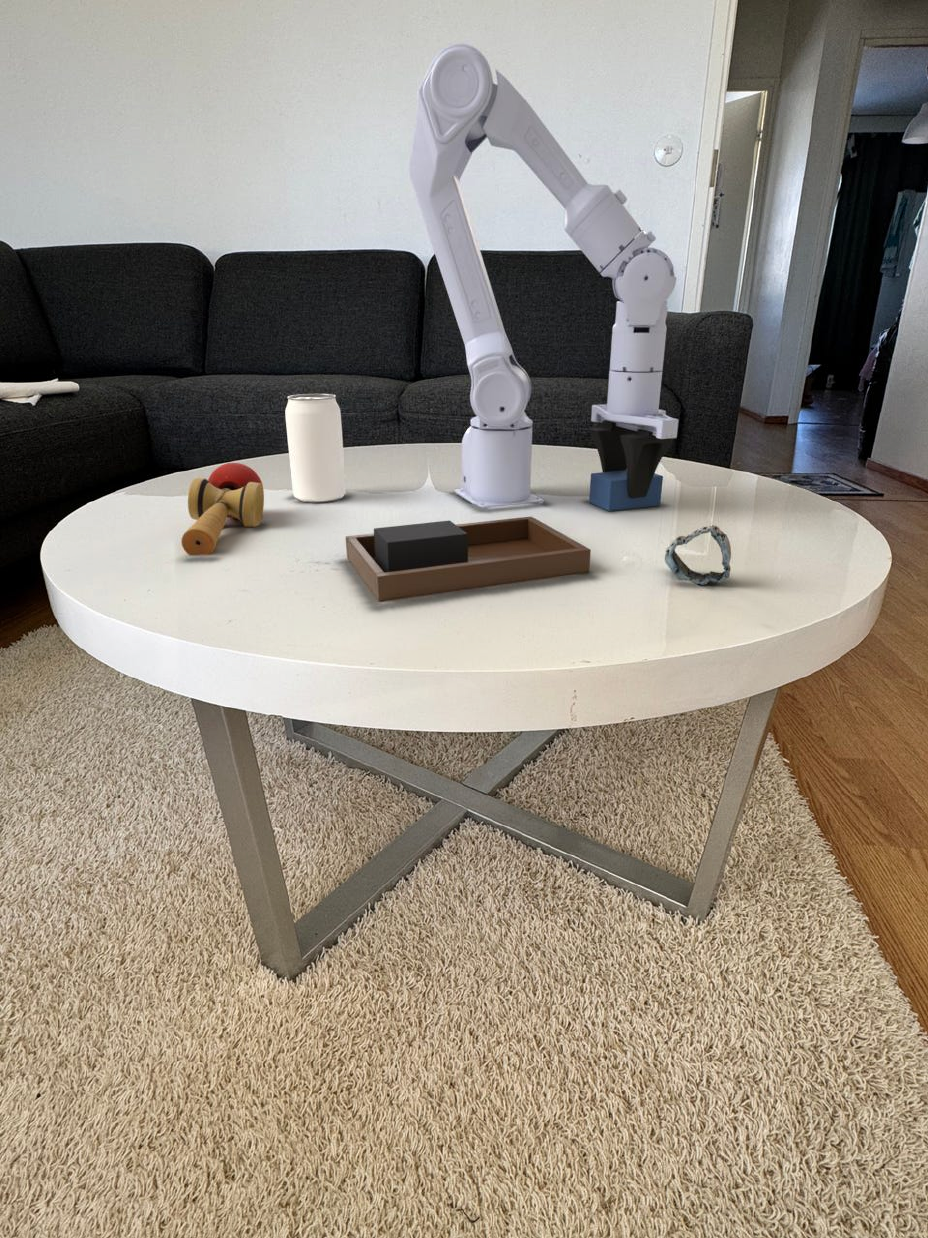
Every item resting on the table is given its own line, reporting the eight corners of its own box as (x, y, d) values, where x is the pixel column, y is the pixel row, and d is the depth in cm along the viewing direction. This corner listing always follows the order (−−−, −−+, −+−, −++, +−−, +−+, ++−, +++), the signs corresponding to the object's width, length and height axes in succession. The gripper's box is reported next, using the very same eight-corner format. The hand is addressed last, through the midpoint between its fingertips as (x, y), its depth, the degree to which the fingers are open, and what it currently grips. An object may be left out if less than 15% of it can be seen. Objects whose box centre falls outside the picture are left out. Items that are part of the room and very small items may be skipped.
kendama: (253, 570, 68) (283, 498, 83) (230, 508, 65) (265, 445, 80) (174, 585, 68) (218, 511, 84) (146, 524, 65) (198, 459, 80)
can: (335, 504, 86) (327, 399, 81) (284, 501, 87) (273, 398, 82) (353, 492, 92) (347, 393, 87) (306, 489, 93) (297, 392, 88)
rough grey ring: (696, 590, 63) (661, 546, 62) (748, 559, 60) (711, 513, 59) (690, 605, 60) (654, 560, 60) (744, 574, 57) (706, 526, 57)
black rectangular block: (375, 566, 63) (373, 528, 62) (450, 557, 66) (449, 520, 64) (389, 583, 59) (387, 542, 58) (468, 572, 62) (468, 533, 60)
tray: (347, 562, 66) (345, 536, 65) (530, 540, 72) (531, 516, 71) (379, 607, 56) (377, 576, 55) (589, 577, 62) (591, 549, 61)
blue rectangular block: (588, 502, 86) (590, 473, 85) (638, 497, 88) (641, 468, 87) (608, 511, 82) (610, 480, 81) (660, 505, 85) (663, 475, 83)
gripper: (708, 374, 74) (692, 503, 80) (630, 365, 87) (621, 477, 92) (650, 376, 72) (637, 509, 77) (579, 366, 85) (572, 481, 90)
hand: (625, 492), depth 85 cm, fingers closed on blue rectangular block, 4 cm apart
